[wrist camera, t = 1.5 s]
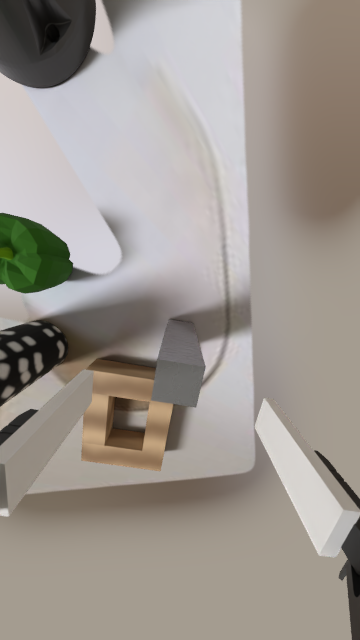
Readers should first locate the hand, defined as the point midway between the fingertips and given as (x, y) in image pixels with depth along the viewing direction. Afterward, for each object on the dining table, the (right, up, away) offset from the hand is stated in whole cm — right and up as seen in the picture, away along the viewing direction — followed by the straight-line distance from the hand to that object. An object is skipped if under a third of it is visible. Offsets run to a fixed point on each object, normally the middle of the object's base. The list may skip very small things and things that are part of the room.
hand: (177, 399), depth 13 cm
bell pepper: (-18, +15, +13) cm, 27 cm away
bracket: (0, +3, +15) cm, 16 cm away
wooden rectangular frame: (-9, -10, +19) cm, 23 cm away
